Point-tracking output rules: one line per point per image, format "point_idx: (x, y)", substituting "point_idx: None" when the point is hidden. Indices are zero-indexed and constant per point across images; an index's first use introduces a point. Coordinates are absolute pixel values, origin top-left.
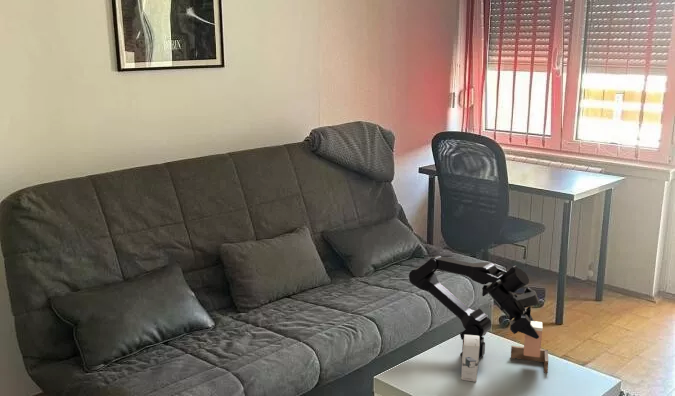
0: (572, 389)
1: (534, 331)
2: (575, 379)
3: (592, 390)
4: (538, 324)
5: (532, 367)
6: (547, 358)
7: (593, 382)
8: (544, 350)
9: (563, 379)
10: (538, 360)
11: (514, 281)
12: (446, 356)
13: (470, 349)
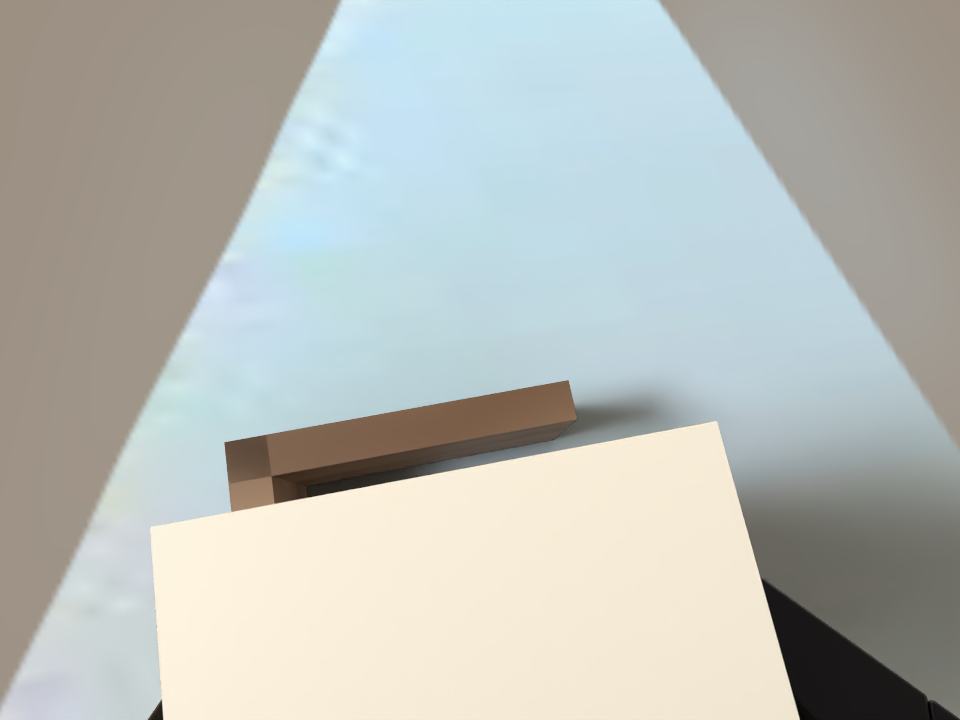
0: (749, 164)
1: (857, 654)
2: (548, 161)
3: (676, 27)
4: (454, 619)
5: None
6: (491, 404)
7: (529, 30)
8: (261, 479)
9: (602, 253)
10: None
11: None
12: None
13: None
